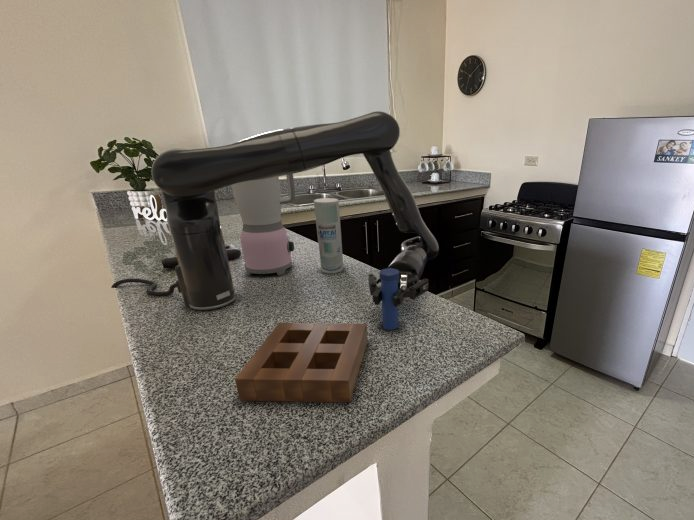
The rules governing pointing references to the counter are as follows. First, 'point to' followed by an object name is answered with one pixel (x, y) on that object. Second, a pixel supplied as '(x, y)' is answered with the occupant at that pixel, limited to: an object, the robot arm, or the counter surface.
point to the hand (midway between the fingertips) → (385, 301)
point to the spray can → (329, 234)
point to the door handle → (230, 249)
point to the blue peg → (389, 297)
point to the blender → (264, 225)
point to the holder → (305, 364)
